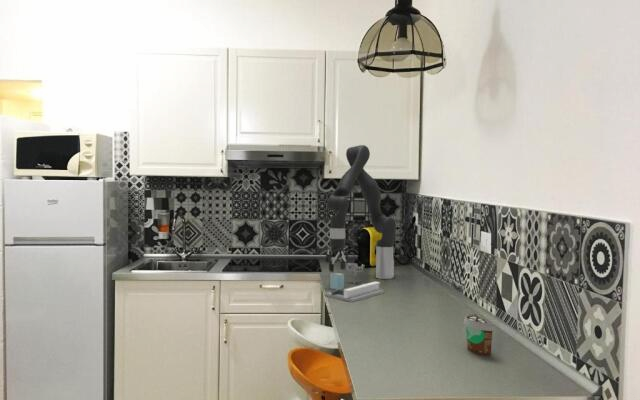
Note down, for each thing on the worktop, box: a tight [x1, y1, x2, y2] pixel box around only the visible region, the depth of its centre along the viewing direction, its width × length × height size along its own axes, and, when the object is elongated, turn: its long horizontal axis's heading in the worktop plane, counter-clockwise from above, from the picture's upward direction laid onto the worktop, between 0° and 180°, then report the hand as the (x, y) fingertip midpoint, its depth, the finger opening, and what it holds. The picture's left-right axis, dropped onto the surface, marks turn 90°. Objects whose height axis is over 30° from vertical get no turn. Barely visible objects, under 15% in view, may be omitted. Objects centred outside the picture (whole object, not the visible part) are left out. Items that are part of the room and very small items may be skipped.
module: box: [329, 272, 345, 291], centre depth 227 cm, size 5×4×7 cm
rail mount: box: [324, 281, 385, 303], centre depth 215 cm, size 24×16×5 cm, turn 138°
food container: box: [463, 312, 494, 357], centre depth 144 cm, size 12×6×10 cm, turn 5°
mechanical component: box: [345, 262, 365, 285], centre depth 239 cm, size 3×10×10 cm, turn 78°
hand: (337, 270), depth 227 cm, fingers open, 8 cm apart
